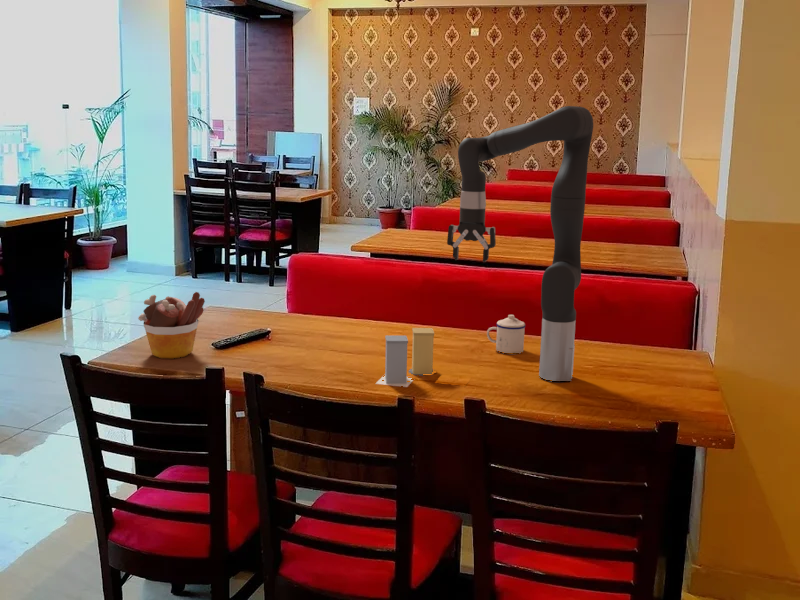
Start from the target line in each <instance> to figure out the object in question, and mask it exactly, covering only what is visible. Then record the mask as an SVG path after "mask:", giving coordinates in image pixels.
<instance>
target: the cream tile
mask: <svg viewBox="0 0 800 600" xmlns="http://www.w3.org/2000/svg"><path fill="white" fill-rule="evenodd" d="M383 376H384V375H383ZM383 376H381V378H379V379H378V380H377V381H376V383H375V385H382V386H383V385H384V386H393V387H401V386H403V387H402V388H408V387H409V386H410V384H412V382H413V381H414V380H411V379H412V378H408V377H409V376H407V380H406V384H386V379H385V376H384V377H383ZM382 380H384V381H382ZM407 381H410V382H407Z"/></svg>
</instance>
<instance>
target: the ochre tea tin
mask: <svg viewBox="0 0 800 600" xmlns="http://www.w3.org/2000/svg"><path fill="white" fill-rule="evenodd" d="M411 331H412V349H411V350H412V352H411V353H412V355H411V356H412V357H411V369H412V371H413V374H432V372H433V369H434V368H433V367H434V365H433V364H434V363H433V362H434V336H435V331H434V329H433V328H432V327H412V330H411Z"/></svg>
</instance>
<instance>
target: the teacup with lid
mask: <svg viewBox="0 0 800 600" xmlns="http://www.w3.org/2000/svg"><path fill="white" fill-rule="evenodd" d="M525 328H526V323H525V322H524V321H521V320H519V319H518V318H516V317H515V315H514V314H508V315H507V317H505V318H504V319H500V320H498V321H497V322H496V326H492V327H488V329H487V330H486V337H487V339H488V340H489V341H490V342H491V343H493V344H496V345H495V350H496V351H497V352H498V351H500V352H504V353H519V354H521V352H522V353H523V352H524V343H525ZM492 330H495V331H496V339H493V338H492V337H491V335H490V331H492ZM500 352H499V353H500ZM504 353H503V354H504Z"/></svg>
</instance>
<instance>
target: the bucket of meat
mask: <svg viewBox="0 0 800 600" xmlns="http://www.w3.org/2000/svg"><path fill="white" fill-rule="evenodd" d="M192 294H193V295H192V298H191V299H190V300H189V301H188V302H187V304H186V303H185V302H184V301H182V300H181V299H180V298H177V297H173V296H166V297H165V298H164V299H160V300H158V301H156V299H157V295H156V294H152V295H149V298H147V299H145V300H144V301H143V304H144V305H146V308H144V309H143V313H140V315H139V316H138V317H137V319H138V321H140V322H143V328H144V330H145V334H146V338H147V342H148V345H149V349H150V351H151V354H152V355H153V357H156V358H159V359H161V360H162V359H163V360H164V359H166V360H168V359H169V360H170V359H172V360H173V359H174V358H175V359H180V357H181V358H185V357H187V356H188V354H189V355H190V354H191V353H192V352H193V350H194V345H195V342H196V335H197V329H198V325H199V320H198V319H199V318H200V317H201V316H202V315H203V313H204V311H205V309H204V307H203V306H204V304H205V302H206V301H205V298H204V297H201V295H200V292H198V291H195V292H193V293H192Z"/></svg>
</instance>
